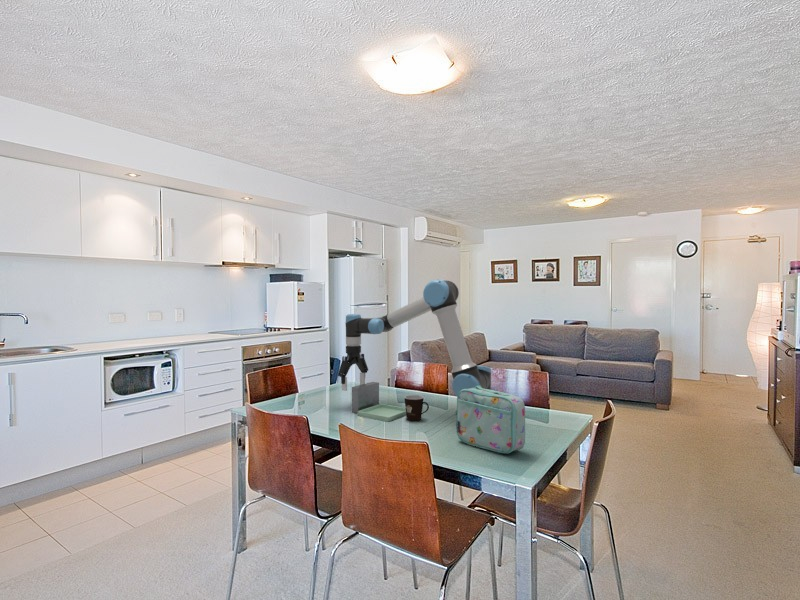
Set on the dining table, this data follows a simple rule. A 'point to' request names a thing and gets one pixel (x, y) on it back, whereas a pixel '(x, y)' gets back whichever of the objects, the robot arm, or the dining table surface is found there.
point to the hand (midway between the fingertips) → (353, 388)
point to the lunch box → (490, 419)
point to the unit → (365, 396)
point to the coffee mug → (414, 407)
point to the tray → (383, 412)
